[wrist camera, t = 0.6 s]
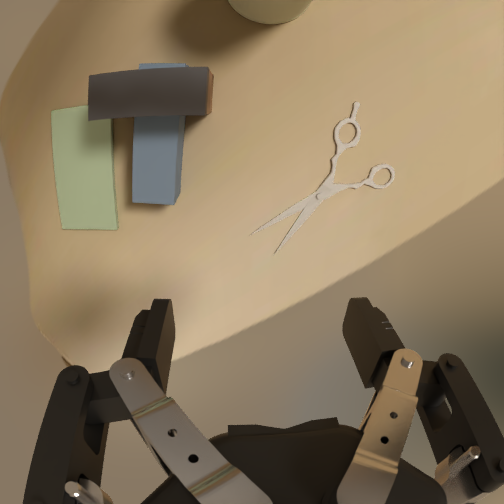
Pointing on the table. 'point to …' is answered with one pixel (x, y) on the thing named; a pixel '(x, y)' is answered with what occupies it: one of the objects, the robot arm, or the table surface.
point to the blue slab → (157, 154)
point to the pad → (84, 169)
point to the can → (270, 10)
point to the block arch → (150, 93)
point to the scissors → (329, 181)
